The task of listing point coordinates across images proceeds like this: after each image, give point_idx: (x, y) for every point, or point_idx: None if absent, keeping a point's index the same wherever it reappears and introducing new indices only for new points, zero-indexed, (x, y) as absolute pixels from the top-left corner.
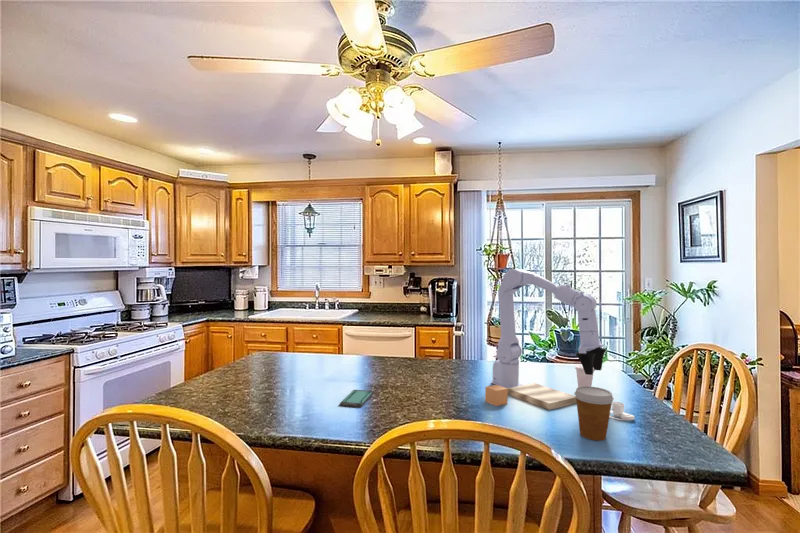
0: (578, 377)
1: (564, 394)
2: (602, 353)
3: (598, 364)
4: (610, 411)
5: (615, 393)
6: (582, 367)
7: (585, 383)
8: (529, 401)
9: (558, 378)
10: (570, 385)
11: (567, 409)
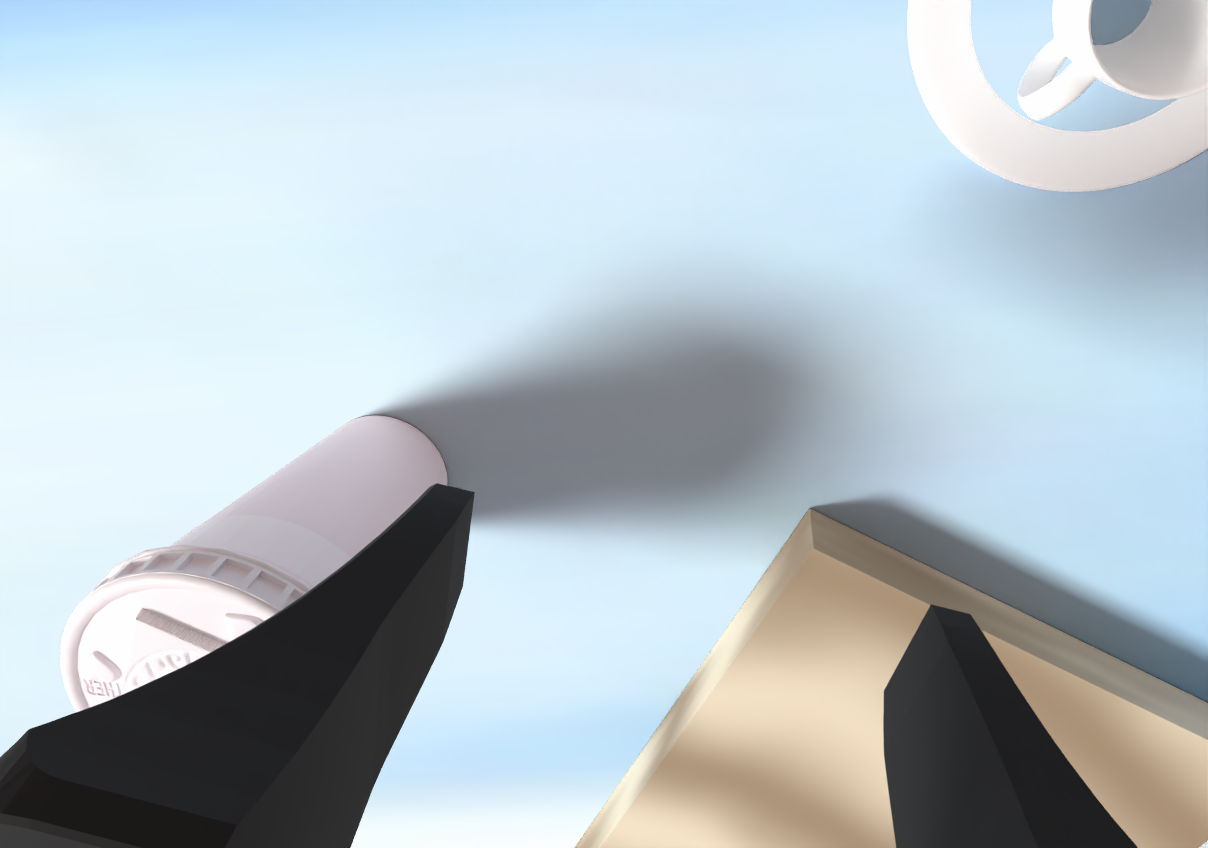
0: None
1: (801, 674)
2: (291, 759)
3: (424, 604)
4: (977, 118)
5: (69, 145)
6: None
7: None
8: None
9: (24, 733)
10: None
11: (1136, 573)
